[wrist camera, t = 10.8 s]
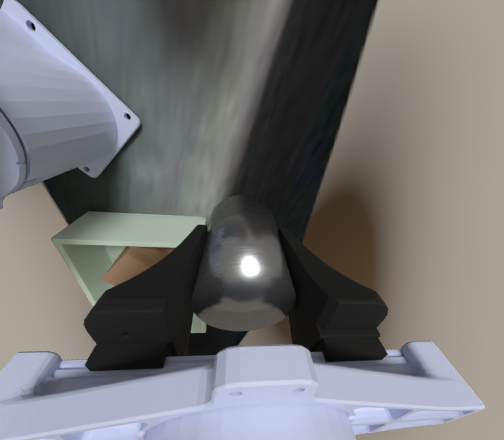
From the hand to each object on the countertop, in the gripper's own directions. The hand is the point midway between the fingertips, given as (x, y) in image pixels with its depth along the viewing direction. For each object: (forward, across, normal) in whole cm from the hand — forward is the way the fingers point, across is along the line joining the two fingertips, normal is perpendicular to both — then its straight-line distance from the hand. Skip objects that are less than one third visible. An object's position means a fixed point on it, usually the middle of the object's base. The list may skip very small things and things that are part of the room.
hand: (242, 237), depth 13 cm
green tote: (+9, +10, +13) cm, 19 cm away
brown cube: (+8, +11, +9) cm, 16 cm away
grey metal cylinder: (+2, 0, 0) cm, 2 cm away
